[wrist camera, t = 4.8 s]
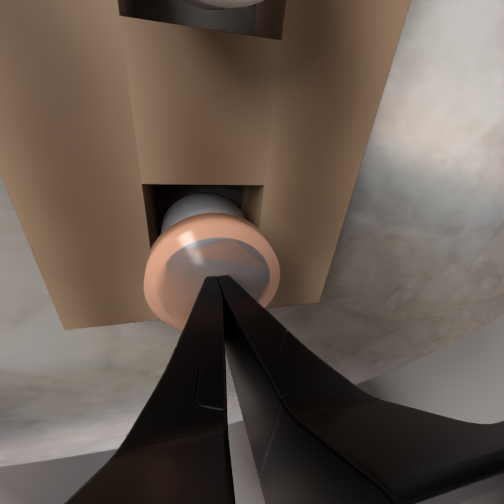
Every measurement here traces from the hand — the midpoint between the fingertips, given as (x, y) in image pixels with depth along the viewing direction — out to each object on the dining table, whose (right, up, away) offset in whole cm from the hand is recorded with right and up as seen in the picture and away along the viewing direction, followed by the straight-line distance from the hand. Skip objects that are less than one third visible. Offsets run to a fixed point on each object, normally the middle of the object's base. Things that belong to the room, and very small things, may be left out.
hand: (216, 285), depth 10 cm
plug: (-1, +2, +3) cm, 4 cm away
